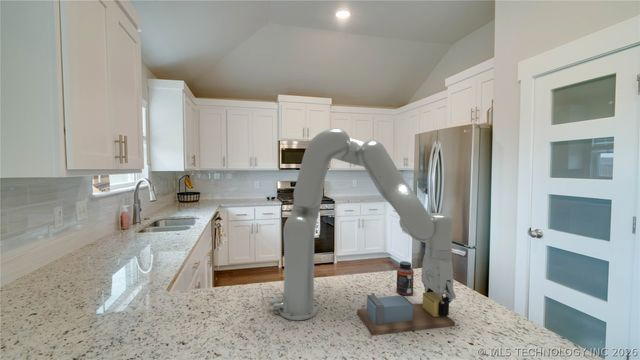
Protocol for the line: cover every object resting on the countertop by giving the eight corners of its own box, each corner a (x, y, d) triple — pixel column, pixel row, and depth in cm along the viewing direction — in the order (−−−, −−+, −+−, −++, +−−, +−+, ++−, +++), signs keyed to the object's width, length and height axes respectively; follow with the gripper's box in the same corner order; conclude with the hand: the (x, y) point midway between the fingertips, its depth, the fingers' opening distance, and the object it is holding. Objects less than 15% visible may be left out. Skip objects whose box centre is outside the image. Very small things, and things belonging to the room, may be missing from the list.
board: (372, 335, 74) (372, 331, 74) (356, 313, 86) (357, 309, 86) (454, 325, 80) (454, 321, 79) (429, 306, 91) (429, 302, 91)
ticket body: (375, 325, 76) (376, 306, 76) (365, 312, 84) (365, 294, 84) (413, 321, 79) (414, 302, 79) (400, 308, 86) (401, 291, 86)
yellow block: (433, 316, 81) (434, 301, 81) (422, 307, 87) (422, 292, 87) (448, 315, 83) (448, 299, 82) (436, 306, 88) (436, 291, 88)
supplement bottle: (414, 297, 98) (415, 266, 98) (397, 295, 99) (397, 264, 99) (411, 290, 104) (412, 260, 103) (395, 288, 105) (396, 259, 105)
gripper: (412, 246, 92) (410, 298, 93) (446, 262, 75) (444, 326, 76) (431, 245, 94) (430, 296, 94) (469, 261, 77) (467, 323, 77)
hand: (436, 309), depth 85 cm, fingers closed on yellow block, 5 cm apart
